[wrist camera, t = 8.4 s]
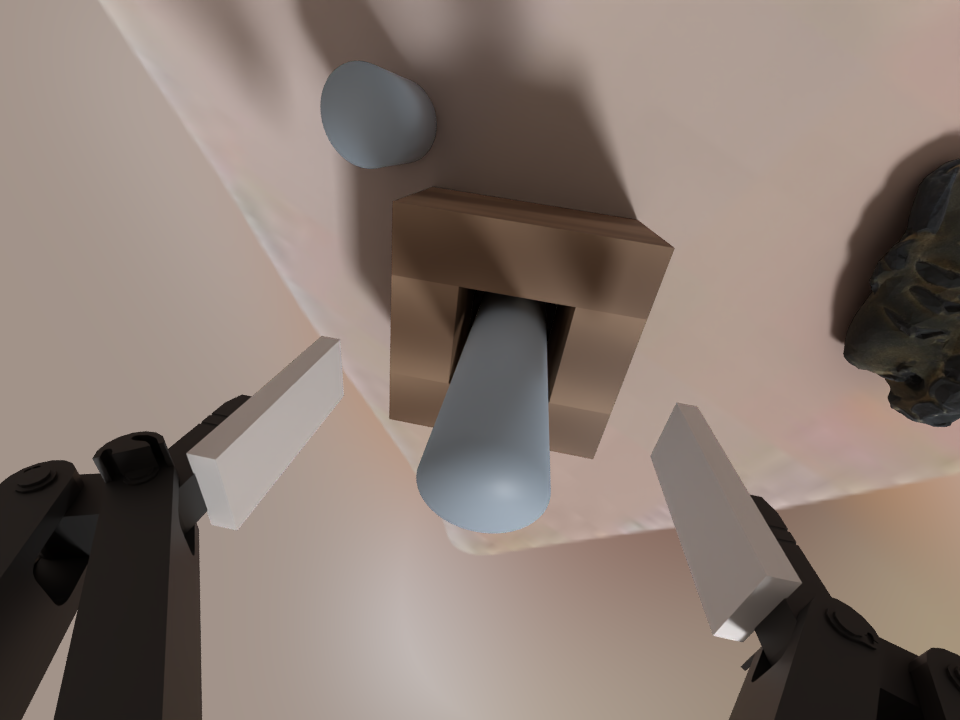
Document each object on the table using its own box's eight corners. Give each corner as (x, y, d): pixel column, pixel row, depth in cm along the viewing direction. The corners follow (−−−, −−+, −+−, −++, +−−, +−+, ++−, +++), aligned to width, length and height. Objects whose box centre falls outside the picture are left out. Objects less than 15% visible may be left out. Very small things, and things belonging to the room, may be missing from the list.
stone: (1039, 140, 18) (1212, 135, 13) (947, 380, 24) (1045, 434, 19) (867, 173, 20) (968, 179, 15) (820, 391, 25) (882, 443, 21)
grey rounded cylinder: (369, 69, 20) (320, 49, 16) (442, 88, 20) (413, 74, 16) (364, 153, 22) (320, 156, 18) (430, 170, 22) (402, 178, 18)
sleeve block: (432, 186, 22) (392, 201, 16) (637, 219, 22) (674, 248, 16) (421, 361, 28) (389, 418, 22) (581, 391, 28) (593, 459, 22)
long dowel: (489, 265, 24) (419, 424, 10) (551, 275, 24) (565, 452, 10) (481, 321, 26) (413, 518, 12) (538, 332, 26) (535, 544, 12)
